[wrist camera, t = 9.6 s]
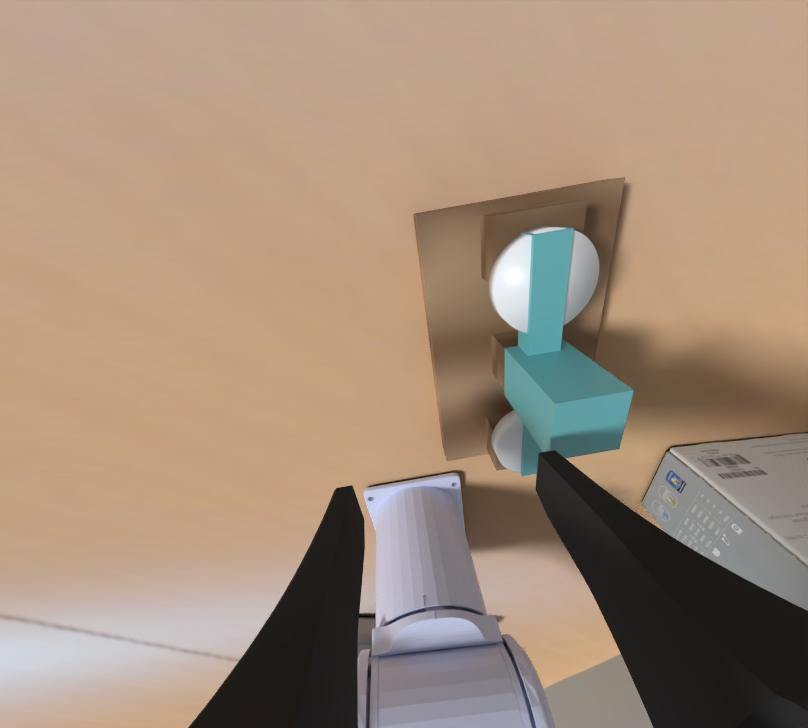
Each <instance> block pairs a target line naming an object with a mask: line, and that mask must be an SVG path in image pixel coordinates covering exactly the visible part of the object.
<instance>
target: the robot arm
mask: <svg viewBox="0 0 808 728" xmlns="http://www.w3.org/2000/svg"><path fill="white" fill-rule="evenodd" d="M454 482H455V483H454ZM536 491H537V493H538V496H539V498H540V500H541V502H542V505H543V507H544V509H545V511H546V513H547V516H548V517H549V519H550V521H551V523H552V524H553V526H554V528H555V530H556V531H557V533H558V535H559V537H560V538H561V540H562V542H563V543H564V545H565V547H566V548H567V550H568V552H569V554H570V555H571V557H572V559H573V560H574V562H575V564H576V566H577V567H578V569H579V571H580V572H581V574H582V576H583V577H584V579H585V581H586V583H587V585H588V587H589V588H590V590H591V592H592V594H593V596H594V598H595V600H596V602H597V604H598V606H599V608H600V610H601V612H602V614H603V616H604V619H605V621H606V623H607V625H608V627H609V629H610V631H611V633H612V635H613V638H614V640H615V642H616V644H617V646H618V648H619V650H620V653H621V655H622V657H623V659H624V661H625V663H626V666H627V668H628V670H629V672H630V675H631V677H632V679H633V681H634V684H635V686H636V688H637V690H638V693H639V695H640V697H641V699H642V702H643V704H644V706H645V708H646V711H647V713H648V716H649V717H650V720H651V723H652V725H653V728H808V611H807V610H805V609H803V608H801V607H799V606H797V605H795V604H793V603H791V602H789V601H787V600H785V599H783V598H781V597H779V596H777V595H775V594H773V593H771V592H769V591H767V590H765V589H763V588H761V587H759V586H757V585H756V584H754V583H752V582H750V581H748V580H746V579H744V578H742V577H741V576H739V575H737V574H735V573H733V572H732V571H730V570H728V569H726V568H724V567H723V566H721V565H719V564H717V563H716V562H714V561H712V560H710V559H708V558H707V557H705V556H703V555H701V554H700V553H698V552H696V551H694V550H693V549H691V548H689V547H688V546H686V545H684V544H683V543H681V542H680V541H678V540H676V539H675V538H673V537H672V536H670V535H668V534H667V533H665V532H664V531H662V530H661V529H659V528H658V527H656V526H655V525H653V524H652V523H650V522H649V521H647V520H646V519H644V518H643V517H641V516H640V515H638V514H637V513H636V512H634V511H633V510H631V509H630V508H628V507H627V506H626V505H624V504H623V503H622V502H620V501H619V500H617V499H616V498H615V497H613V496H612V495H611V494H610V493H608V492H607V491H606V490H604V489H603V488H602V487H600V486H599V485H598V484H596V483H595V482H594V481H592V480H591V479H590V478H589V477H587V476H586V475H585V474H584V473H582V472H581V471H580V470H579V469H577V468H576V467H575V466H574V465H573V464H571V463H570V462H569V461H568V460H566V459H565V458H564V457H563V456H561V455H560V454H559V453H558V452H556V451H555V450H552V451H546V452H541V453H539V454H538V467H537V479H536ZM364 498H365V501H366V504H367V507H368V510H369V513H370V516H371V519H372V522H373V525H374V528H375V531H376V628H373V629H372V654H371V650H370V649H366V650H362V651H361V652H360V654H359V657H358V622H359V609H360V597H361V586H362V574H363V562H364V549H365V543H364V517H363V515H362V512H361V509H360V506H359V503H358V500H357V498H356V495H355V492H354V489H353V486H346V487H341V488H336V489H335V491H334V493H333V496H332V498H331V501H330V503H329V505H328V508H327V510H326V512H325V515H324V517H323V519H322V521H321V524H320V526H319V528H318V530H317V532H316V534H315V536H314V538H313V540H312V542H311V545H310V547H309V549H308V551H307V553H306V554H305V556H304V558H303V560H302V562H301V564H300V566H299V568H298V569H297V571H296V573H295V575H294V577H293V579H292V580H291V582H290V584H289V586H288V587H287V589H286V591H285V592H284V594H283V596H282V597H281V599H280V601H279V602H278V604H277V606H276V607H275V609H274V610H273V612H272V614H271V615H270V617H269V618H268V620H267V621H266V623H265V624H264V626H263V627H262V629H261V630H260V632H259V633H258V635H257V636H256V638H255V639H254V641H253V642H252V644H251V645H250V647H249V648H248V650H247V651H246V652H245V654H244V655H243V657H242V658H241V659H240V661H239V662H238V664H237V665H236V666H235V668H234V669H233V670H232V672H231V673H230V674H229V676H228V677H227V678H226V680H225V681H224V682H223V684H222V685H221V687H220V688H219V689H218V691H217V692H216V693H215V695H214V696H213V697H212V699H211V700H210V701H209V702H208V704H207V705H206V706H205V708H204V709H203V710H202V711H201V713H200V714H199V715H198V716H197V718H196V719H195V720H194V721H193V722H192V724H191V725H190V726H189V727H188V728H555V725H554V721H553V718H552V715H551V711H550V708H549V704H548V701H547V698H546V695H545V693H544V690H543V687H542V684H541V682H540V679H539V677H538V675H537V672H536V670H535V668H534V666H533V664H532V662H531V660H530V658H529V657H528V655H527V653H526V652H525V651H524V650H523V648H522V647H521V646H519V645H518V643H517V642H516V640H515V639H514V638H513V637H512V636H510V635H508V634H504V635H501V632H500V629H499V625H498V622H497V618H496V616H495V615H492V616H487V612H486V608H485V605H484V601H483V597H482V594H481V590H480V586H479V582H478V579H477V575H476V571H475V568H474V564H473V560H472V556H471V553H470V549H469V545H468V541H467V538H466V534H465V525H464V515H463V504H462V494H461V484H460V477H459V474H457V473H448V474H442V475H437V476H431V477H425V478H420V479H414V480H408V481H402V482H397V483H391V484H385V485H380V486H374V487H368V488H366V489H365V490H364Z"/></svg>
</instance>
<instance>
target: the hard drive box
mask: <svg viewBox="0 0 808 728" xmlns="http://www.w3.org/2000/svg"><path fill="white" fill-rule="evenodd" d="M641 505H642V506H643V507H644V508H645V509H646V510H647V512H648V513H649V514H650V515H651V516H652V517H653V518H654V519H655V520H656V522H657V523H658V524H659V525H660V526H661V527H662V528H663V529H664V530H665V532H666V533H667V534H668V535H670V536H672V537H673V538H675V539H676V540H678V541H680V542H681V543H683V544H684V545H686V546H688V547H689V548H691V549H693V550H694V551H696V552H698V553H700V554H701V555H703V556H705V557H707V558H708V559H710V560H712V561H714V562H716V563H717V564H719V565H721V566H723V567H724V568H726V569H728V570H730V571H732V572H733V573H735V574H737V575H739V576H741V577H742V578H744V579H746V580H748V581H750V582H752V583H754V584H756V585H757V586H759V587H761V588H763V589H765V590H767V591H769V592H771V593H773V594H775V595H777V596H779V597H781V598H783V599H785V600H787V601H789V602H791V603H793V604H795V605H797V606H799V607H801V608H803V609H805V610H807V611H808V433H800V434H789V435H783V436H777V437H767V438H758V439H748V440H739V441H729V442H713V443H703V444H698V445H691V446H683V447H673V448H670V451H668V452H666V454H665V456H664V458H663V460H662V462H661V464H660V466H659V469H658V471H657V473H656V475H655V477H654V479H653V481H652V483H651V485H650V487H649V489H648V491H647V493H646V495H645V497H644V499H643V501H642V504H641Z"/></svg>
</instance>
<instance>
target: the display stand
mask: <svg viewBox="0 0 808 728" xmlns="http://www.w3.org/2000/svg"><path fill="white" fill-rule="evenodd" d="M624 181H625V177H624V178H616V179H608V180H601V181H595V182H590V183H584V184H578V185H573V186H567V187H562V188H556V189H550V190H545V191H539V192H534V193H528V194H523V195H517V196H511V197H506V198H500V199H495V200H489V201H483V202H478V203H472V204H467V205H461V206H455V207H450V208H444V209H439V210H433V211H427V212H422V213H416V214H414V222H415V230H416V238H417V246H418V254H419V262H420V269H421V277H422V285H423V293H424V301H425V309H426V317H427V325H428V333H429V341H430V348H431V356H432V364H433V372H434V380H435V388H436V396H437V404H438V412H439V420H440V427H441V435H442V443H443V449H444V452H445V456H446V460H447V461H450V460H455V459H461V458H467V457H472V456H478V455H484V454H489V455H490V457H491V459H492V461H493V464H494V466H495V468H496V470H502V469H507V468H505V467H504V466H503V465H502V464H501V463H500V461H499V459H498V457H497V455H496V453H495V451H494V449H493V446H492V441H491V439H492V433H493V431H494V428H495V427H496V425H497V424H498V422H499V421H500V420H501V419H502V418H503V417H504V416H505V415H507V414H508V413H509V412H511V411H513V410H514V409H513V407H512V406H511V404H510V403H509V401H508V400H507V398H506V397H505V395H504V377H505V348H508V347H514V346H518V330H517V329H515V328H513V327H512V326H510V325H509V324H508V323H507V322H506V321H505V320H503V319H502V318H501V317H500V316H499V315H498V314H497V312H496V311H495V310H494V308H493V306H492V304H491V301H490V297H489V290H488V286H489V277H490V273H491V270H492V267H493V265H494V263H495V261H496V259H497V257H498V256H499V254H500V253H501V251H502V250H503V249H504V248H505V247H506V246H507V244H508V243H510V242H511V241H512V240H513V239H514V238H516V237H517V236H519V235H520V234H521V233H522V232H526V231H528V230H531V229H534V228H538V227H544V226H552V227H556V226H560V227H569V228H574V229H573V230H576V231H578V232H580V233H582V234H583V235H585V236H586V237H587V238H588V239H589V240H590V241H591V242H592V244H593V245H594V247H595V249H596V252H597V254H598V259H599V277H598V282H597V285H596V288H595V291H594V293H593V295H592V297H591V299H590V300H589V302H588V303H587V305H586V306H585V307H584V309H583V310H582V311H581V312H580V313H579V314H578V315H577V316H576V317H575V318H574V319H572V320H571V321H570V322H568V323H567V324H565V325H563V332H562V339H563V340H564V341H566V342H567V343H569V344H570V345H571V346H573V347H574V348H576V349H577V350H578V351H580V352H581V353H583V354H584V355H585V356H587V357H588V358H590V359H591V360H592V361H594V358H595V352H596V346H597V340H598V334H599V328H600V323H601V317H602V311H603V305H604V299H605V293H606V287H607V281H608V275H609V269H610V264H611V258H612V252H613V246H614V240H615V234H616V228H617V222H618V216H619V210H620V205H621V199H622V193H623V187H624Z"/></svg>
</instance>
